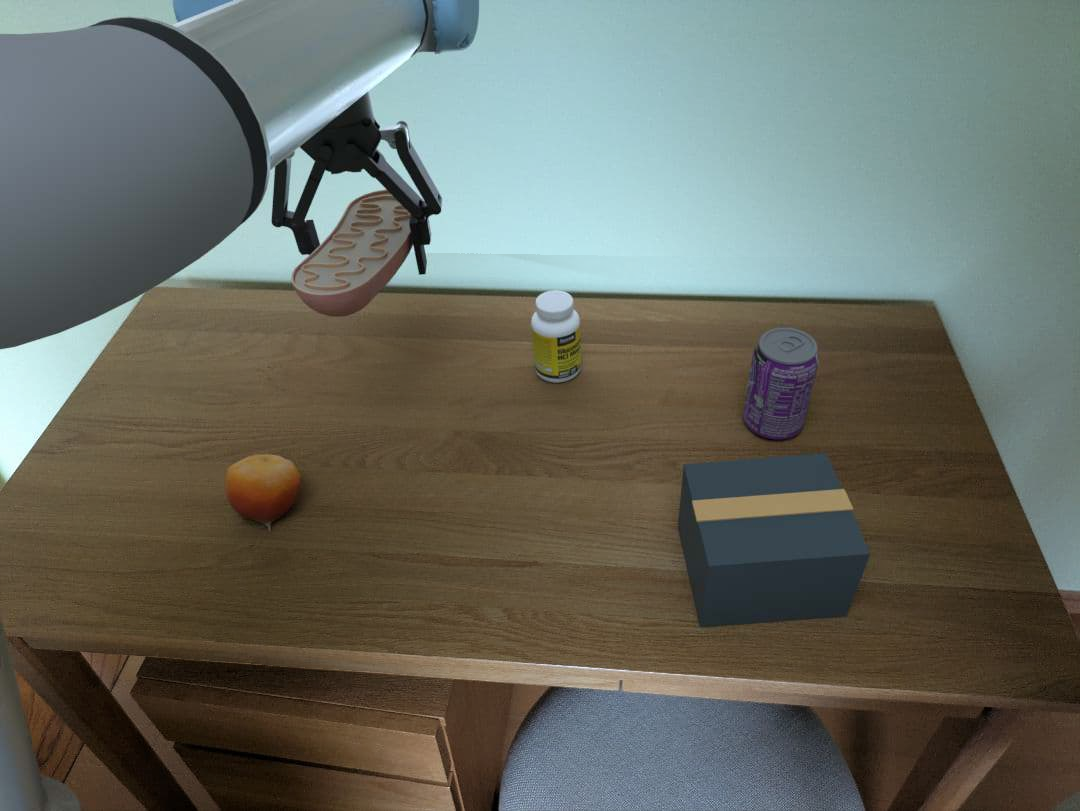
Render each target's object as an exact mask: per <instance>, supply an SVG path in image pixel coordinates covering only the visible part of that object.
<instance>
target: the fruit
mask: <svg viewBox="0 0 1080 811" xmlns="http://www.w3.org/2000/svg"><path fill="white" fill-rule="evenodd" d="M301 478H302V477H301V473H300V471H299V469H298V467H297V466H296V465H295V463H294V462H293V461H291V460H290V459H287V458H284V457H282V456H280V455H277V454H272V453H271V454H270V453H264V454H263V453H261V454H253V455H249V456H246V457H244V458H242V459H240V460H237V461H236V462H235V463H233V464H231V465H229V467H228V468H227V470H226V475H225V485H224V486H225V495H226V498H227V501H228V503H229V505H230V506H231V508H232V509H233V510H234V511H235V512H236V513H237V514H238V516H239V517H240V518H242V521H244V520H245V519H249V520H252V521H255V522H258V523H259V524H262V525H264V526H266V527H267V530H268V532H270V533H271V531H272V527H271V526H272V523H273V522H274V521H276V520H279V519H280V518H281V517H282V516H284V515H285V514H286V513H287V512H288V511H289V510H290V508H291V507H292V506H293V503H294V502H295V499H296V497H297V494H298V493H299V489H300V487H301V486H300V485H301Z"/></svg>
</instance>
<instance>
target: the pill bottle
mask: <svg viewBox="0 0 1080 811" xmlns="http://www.w3.org/2000/svg"><path fill="white" fill-rule="evenodd" d="M574 308H575V306H574V298H573V296H572V295H571V294H570V293H568V292H566V291H563V290H555V289H554V290H547V291H545V292H542V293H540V294H539V295H538V296H537V297H536V299H535V312H534V313H533V315H532V317H531V320H530V328H531V339H532V352H533V364H534V365H533V366H534V370H535V373H536V375H537V376H538V377H539V378H540V379H542V380H544V381H545V382H549V383H557V384H559V383H565V382H569V381H571V380H572V379H574V378H575V377H577V375H579V373H580V372H581V368H582V350H581V349H582V346H581V345H582V344H581V319H580V315H579V313H578V312H577V311H576V310H575V309H574Z"/></svg>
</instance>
